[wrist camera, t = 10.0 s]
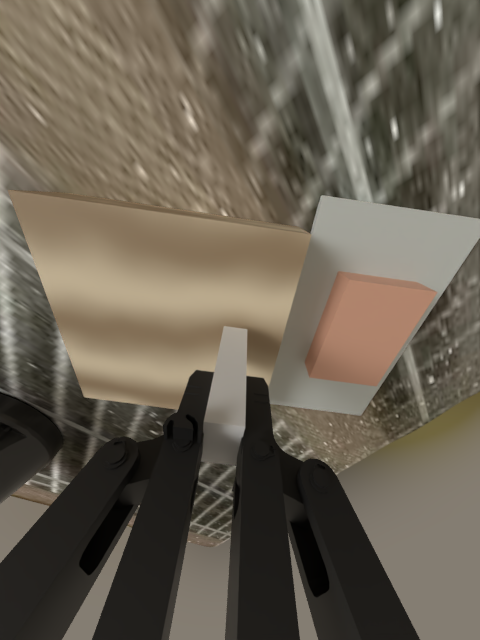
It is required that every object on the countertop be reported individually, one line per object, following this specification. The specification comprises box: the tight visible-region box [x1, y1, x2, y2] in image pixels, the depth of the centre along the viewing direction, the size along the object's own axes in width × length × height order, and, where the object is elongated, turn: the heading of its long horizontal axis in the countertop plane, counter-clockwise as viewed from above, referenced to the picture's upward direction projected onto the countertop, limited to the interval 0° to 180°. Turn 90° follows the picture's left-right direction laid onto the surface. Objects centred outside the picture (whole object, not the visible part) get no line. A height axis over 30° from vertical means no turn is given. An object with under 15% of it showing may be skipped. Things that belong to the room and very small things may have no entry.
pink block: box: [305, 271, 438, 386], centre depth 17 cm, size 9×6×2 cm, turn 173°
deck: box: [8, 190, 312, 409], centre depth 17 cm, size 16×16×4 cm
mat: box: [268, 195, 480, 416], centre depth 18 cm, size 20×11×1 cm, turn 173°
